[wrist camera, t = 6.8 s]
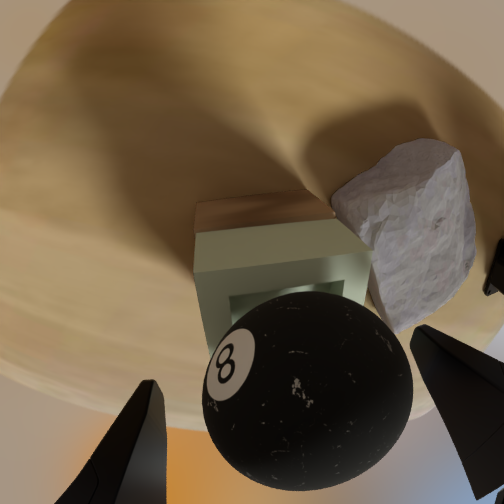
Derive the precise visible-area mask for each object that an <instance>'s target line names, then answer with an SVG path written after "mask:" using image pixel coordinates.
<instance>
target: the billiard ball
mask: <svg viewBox="0 0 504 504" xmlns="http://www.w3.org/2000/svg"><path fill="white" fill-rule="evenodd" d="M412 401H413V379H412V373H411V369H410V365H409V362H408V359H407V356H406V354H405V352H404V350H403V348H402V346H401V344H400V342H399V341H398V339H397V338H396V336H395V335H394V333H393V332H392V331H391V330H390V329H389V327H388V326H387V325H386V324H385V323H384V322H383V321H382V320H381V319H380V318H379V317H378V316H377V315H375V314H374V313H373V312H371V311H370V310H369V309H367V308H366V307H364V306H363V305H361V304H359V303H357V302H355V301H353V300H351V299H348V298H346V297H343V296H340V295H336V294H332V293H327V292H319V291H302V292H294V293H289V294H285V295H281V296H278V297H275V298H273V299H270V300H268V301H266V302H263V303H262V304H260V305H258V306H256V307H255V308H253V309H252V310H250V311H249V312H247V313H246V314H245V315H243V316H242V317H241V318H240V319H238V320H237V321H236V322H235V323H234V324H233V325H232V327H231V328H230V329H229V330H228V331H227V332H226V334H225V335H224V336H223V338H222V339H221V341H220V342H219V344H218V345H217V347H216V349H215V351H214V353H213V355H212V357H211V360H210V362H209V365H208V367H207V371H206V375H205V378H204V383H203V392H202V406H203V415H204V419H205V423H206V426H207V429H208V432H209V434H210V436H211V439H212V441H213V443H214V444H215V446H216V448H217V449H218V451H219V452H220V453H221V455H222V456H223V457H224V458H225V460H226V461H227V462H228V463H229V464H230V465H231V466H232V467H234V468H235V469H236V470H237V471H239V472H240V473H242V474H243V475H244V476H246V477H248V478H249V479H251V480H253V481H255V482H257V483H260V484H262V485H265V486H268V487H271V488H276V489H282V490H288V491H309V490H318V489H323V488H328V487H332V486H335V485H338V484H341V483H343V482H346V481H348V480H350V479H352V478H355V477H357V476H359V475H360V474H362V473H363V472H365V471H367V470H368V469H369V468H371V467H372V466H373V465H375V464H376V463H377V462H379V460H381V459H382V458H383V457H384V456H385V455H386V454H387V453H388V452H389V450H390V449H391V448H392V447H393V446H394V444H395V443H396V441H397V440H398V439H399V437H400V435H401V434H402V432H403V430H404V428H405V426H406V423H407V421H408V418H409V415H410V412H411V407H412Z"/></svg>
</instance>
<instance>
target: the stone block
mask: <svg viewBox="0 0 504 504" xmlns="http://www.w3.org/2000/svg"><path fill="white" fill-rule="evenodd" d="M331 204H332V209H333V210H334V211H335V215H336V217H337V219H338V220H339V221H340V222H341V223H343V224H344V225H345V226H346V227H347V228H348V229H349V230H351V231H352V232H353V233H354V234H355V235H356V236H357V237H359V238H360V239H361V240H362V241H363V242H364V243H365V244H366V245H367V246H368V247H370V248H371V249H372V250H373V253H372V260H371V267H370V273H369V279H368V285H367V286H368V288H369V291H370V294H371V296H372V299H373V302H374V305H375V307H376V310H377V312H378V313H379V315H380V317H381V319H382V320H383V322H384V323H385V324H386V325H387V326H388V327H389V329H390V330H391V331H392V332H393V333H394V334H398V333H399V332H401V331H402V330H405V329H407V328H409V327H411V326H412V325H414V324H416V323H418V322H420V321H421V320H423V319H424V318H425V317H427V316H428V315H430V314H432V313H434V312H435V311H436V310H438V309H439V308H440V307H441V306H443V305H444V304H446V303H447V301H448V300H450V299H451V298H452V297H454V295H455V294H456V292H457V291H458V289H459V288H460V286H461V285H462V283H463V282H464V281H465V280H466V279H467V277H468V274H469V270H470V269H471V268H472V266H473V262H474V259H475V256H476V246H475V235H476V226H475V217H474V212H473V208H472V205H471V203H470V195H469V187H468V183H467V180H466V177H465V167H464V163H463V160H462V157H461V153H460V151H459V150H457V149H456V148H455V147H453V146H450V145H449V144H447V143H445V142H442V141H438V140H434V139H425V138H420V139H416V140H414V141H411V142H407V143H402V144H401V145H397V146H395V147H394V148H393V149H392V150H391V151H390V152H389V153H388V154H387V155H386V156H385V157H382V158H381V159H380V161H379V162H378V163H377V165H376V166H374V167H372V168H370V169H369V170H368V171H365V172H362V173H361V174H359V175H357V176H356V177H355V178H353V179H352V180H351V181H349V182H348V183H347V184H346V185H344V186H343V187H342V188H340V189H338V190H337V191H336V192H335V193H334V194H333V195H332V198H331Z"/></svg>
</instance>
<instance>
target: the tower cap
mask: <svg viewBox="0 0 504 504" xmlns="http://www.w3.org/2000/svg"><path fill="white" fill-rule="evenodd" d="M372 253H373V250H372V249H371V248H370V247H368V246H367V245H366V244H365V243H364V242H363V241H362V240H361V239H360V238H359V237H357V236H356V235H355V234H354V233H353V232H352V231H351V230H349V229H348V228H347V227H346V226H345V225H344V224H343V223H341V222H340V221H339V220H338V219H326V220H315V221H304V222H294V223H284V224H274V225H264V226H254V227H245V228H236V229H227V230H218V231H209V232H201V233H196V240H195V253H194V268H193V275H194V280H195V286H196V291H197V296H198V302H199V307H200V312H201V317H202V322H203V326H204V331H205V336H206V340H207V345H208V349H209V354H210V358H211V357H212V355H213V353H214V351H215V349H216V347H217V345H218V344H219V342H220V341H221V339H222V338H223V336H224V335H225V334H226V332H227V331H228V330H229V329H230V328H231V327H232V325H233V324H234V323H235V322H236V321H237V320H238V319H240V318H241V317H242V316H243V315H245V314H246V313H247V312H249V311H250V310H252V309H253V308H255V307H256V306H258V305H260V304H262V303H263V302H266V301H268V300H270V299H273V298H275V297H278V296H281V295H285V294H289V293H294V292H302V291H319V292H327V293H332V294H336V295H340V296H343V297H346V298H348V299H351V300H353V301H355V302H357V303H359V304H361V305H363V306H364V301H365V296H366V291H367V285H368V279H369V273H370V267H371V260H372Z"/></svg>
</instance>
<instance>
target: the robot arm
mask: <svg viewBox="0 0 504 504" xmlns="http://www.w3.org/2000/svg"><path fill="white" fill-rule="evenodd" d="M498 291H499V292H501V293H502V294H503V295H504V238H503V239H501V240H500V242H499V245H498V249H497V252H496V256H495V260H494V263H493V267H492V270H491V273H490V276H489V279H488V283H487V286H486V288H485V291H484V294H485V295H486V296H489V295H491V294H493V293H496V292H498ZM410 349H411V352H412V354H413V356H414V359H415V361H416V364H417V366H418V369H419V371H420V374H421V376H422V378H423V381H424V383H425V385H426V387H427V389H428V391H429V393H430V395H431V397H432V399H433V401H434V403H435V405H436V407H437V409H438V411H439V413H440V415H441V417H442V419H443V421H444V423H445V425H446V427H447V430H448V432H449V434H450V436H451V439H452V441H453V443H454V445H455V447H456V450H457V452H458V455H459V457H460V459H461V461H462V465H463V467H464V470H465V472H466V475H467V477H468V480H469V482H470V485H471V488H472V491H473V493H474V496H475V498H476V500H479V499H481V498H482V497H484V496H486V495H487V494H489V493H491V492H492V491H494V490H496V489H497V488H499V487H500V486H502V485H503V484H504V363H503V362H501V361H498V360H497V359H495V358H493V357H491V356H489V355H487V354H485V353H483V352H481V351H479V350H477V349H475V348H473V347H471V346H469V345H467V344H465V343H463V342H461V341H459V340H457V339H455V338H453V337H451V336H448V335H446V334H444V333H442V332H440V331H438V330H436V329H434V328H432V327H430V326H428V325H426V324H423V325H420V326H417V327H416V328H415V329H414V332H413V335H412V338H411V341H410ZM166 465H167V432H166V420H165V405H164V396H163V393H162V392H161V390H160V388H159V386H158V384H157V382H156V381H155V380H153V379H151V380H143V381H142V382H141V383H140V384H139V386H138V387H137V389H136V390H135V392H134V393H133V395H132V396H131V398H130V399H129V400H128V402H127V403H126V405H125V406H124V408H123V409H122V411H121V412H120V414H119V415H118V417H117V418H116V420H115V421H114V423H113V424H112V425H111V427H110V429H109V430H108V431H107V433H106V434H105V436H104V437H103V439H102V440H101V442H100V443H99V445H98V446H97V448H96V449H95V451H94V452H93V454H92V455H91V457H90V459H89V460H88V461H87V463H86V464H85V466H84V467H83V469H82V470H81V471H80V473H79V474H78V476H77V477H76V479H75V480H74V481H73V482H72V483H71V485H70V486H69V487H68V488H67V490H66V491H65V492H64V493H63V494H62V495H61V497H60V498H59V499H58V500H57V501H56V502H55V503H54V504H166ZM495 504H504V488H503V489H502V490H501V491H499V492H498V494H497V497H496V501H495Z"/></svg>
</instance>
